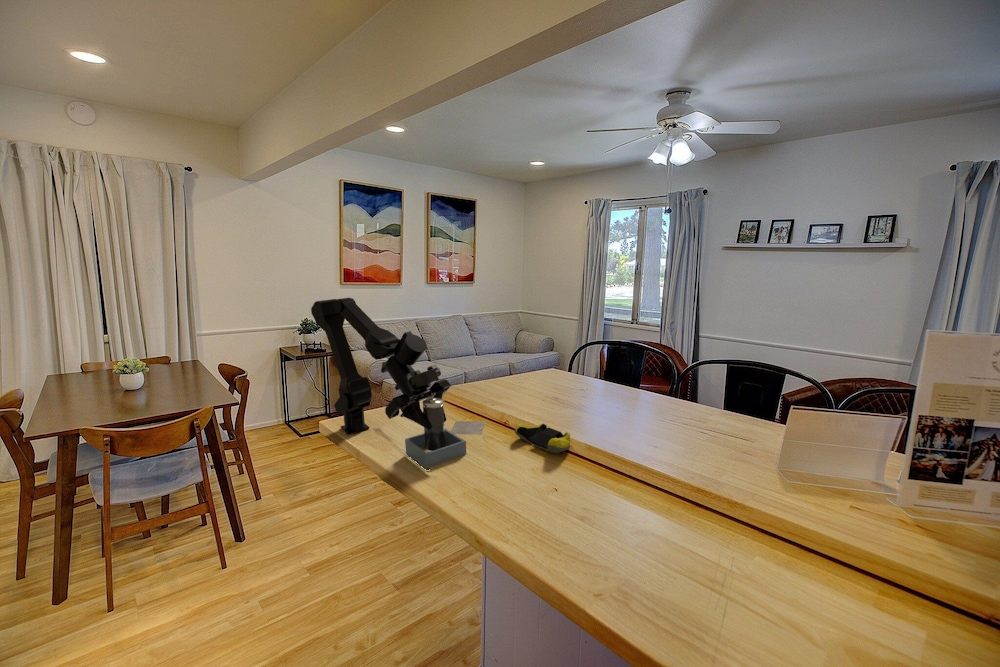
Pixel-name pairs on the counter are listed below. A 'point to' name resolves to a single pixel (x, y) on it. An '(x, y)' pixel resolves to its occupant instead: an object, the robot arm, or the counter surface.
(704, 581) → the counter surface
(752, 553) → the counter surface
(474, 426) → the plate
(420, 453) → the bin
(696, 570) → the counter surface
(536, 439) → the black and yellow shoe
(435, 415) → the battery
